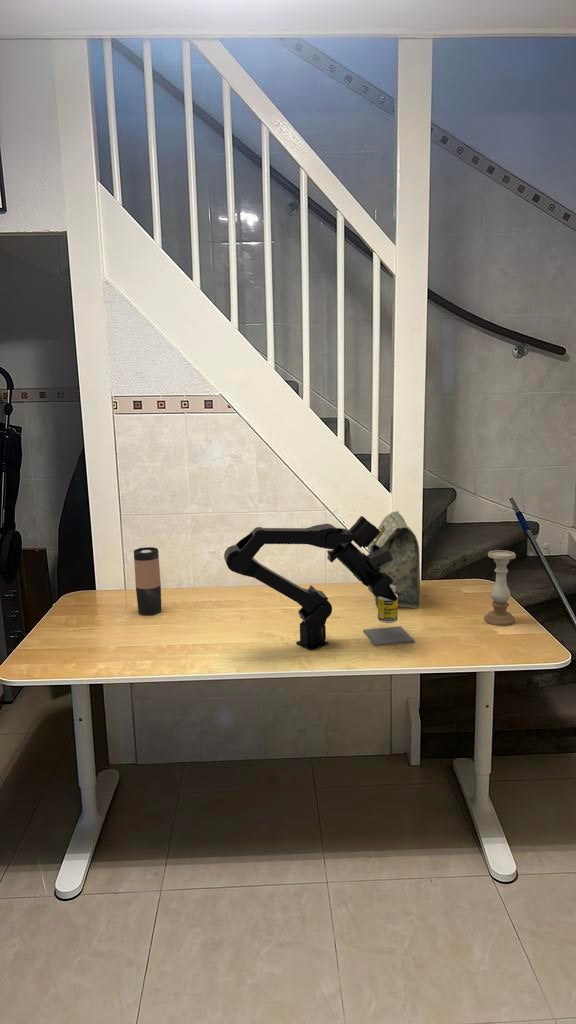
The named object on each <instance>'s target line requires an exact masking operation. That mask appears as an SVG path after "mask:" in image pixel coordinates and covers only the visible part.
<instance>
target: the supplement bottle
mask: <svg viewBox="0 0 576 1024" xmlns="http://www.w3.org/2000/svg"><path fill="white" fill-rule="evenodd" d="M390 587H391V589H392V590H393V592H394V594H395V595H396V597H397V600H396V601H392V600H389V599H386V598H383V597H380V596H379V597H378V608H377V620H378V622H380V623H384V624H394V623H396V622H397V621H398V613H399V612H398V609H399V606H398V595H397V594H396V593H395V591H396V586H395V585H390Z"/></svg>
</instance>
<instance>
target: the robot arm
mask: <svg viewBox="0 0 576 1024" xmlns="http://www.w3.org/2000/svg"><path fill="white" fill-rule="evenodd" d="M380 533H381V532H380V531H379V530H378V528H377V526H376V525H374V524H372V523H371V522H370V521H369V520H368V519H367V518H366V517H364V516H363V515H360V516H359V517H358V518H357V519H356V522H354V524H353V525H352V526H351V527H350V528H349V530H348V529H347V528H344V527H343V528H340V527H336V526H334V525H333V524H331V523H322V524H317V525H313V526H310V527H305V528H304V527H301V528H300V527H298V528H297V527H296V528H295V527H289V528H288V527H261V526H257V527H255V528H253V529H252V531H250V533H248V534H247V535H246V536H244V537H242V538H241V539H240V540H239V541H238V542H237V543H235V544H233V545H230V546H228V547H227V548H226V550H225V551H224V553H223V559H224V561H225V565H226V566H227V568H228V569H229V570H230V571H231V572H233V573H236V574H238V575H241V576H245V577H249V578H253V579H255V580H257V581H259V582H260V583H263V584H264V585H266V586H268V587H270V588H271V589H273V590H275V591H276V592H277V593H279V594H281V595H283V596H285V597H287V598H289V599H290V600H293V601H294V602H295V603H297V604H299V606H301V608H300V609H299V610H298V611H297V612H298V615H299V618H300V619H301V622H299V640H298V641H296V644H297V645H299V646H301V647H302V648H305V649H307V650H310V651H311V650H313V651H314V650H316V649H319V648H322V647H324V646H327V645H330V643H329V641H326V639H327V636H326V635H327V634H326V623H327V620H328V618H329V617H331V615H332V612H333V605H332V604H331V602H330V601H329V598H328V597H327V595H326V594H325V592H324V591H322V590H318V589H316V587H314V586H313V585H309V588H304V587H301V586H300V585H297V583H294V582H293V581H291V580H289V579H288V578H286V577H284V576H282V575H280V574H279V573H277V572H275V571H274V570H272V569H271V568H268V567H267V566H265V565H263V564H262V563H260V562H259V561H258V560H257V559H255V556H256V555H257V554H258V552H259V551H260V550H261V548H262V547H263V546H264V545H309V546H314V547H317V548H320V549H321V548H322V549H325V550H327V551H326V552H327V560H328V561H329V562H330V563H333V562H334V561H336V559H337V560H338V561H339V562H340V563H341V564H342V565H343V566H344V567H345V568H347V569H348V570H349V571H350V573H352V575H353V576H354V577H355V578H356V579H357V580H358V581H359V582H361V583H362V585H363V586H366V587H367V588H368V591H369V592H370V593H372V594H373V596H374V595H375V596H376V597H379V596H380V597H383V598H386V599H389V600H392V601H396V600H397V597H396V595H395V594H394V592H393V590H392V589H391V587H390V585H391V584H392V583H393V579H392V578H391V577H389V576H388V575H387V574H386V573H385V572H382V573H380V568H379V567H378V566H381V565H383V564H385V563H387V562H391V561H392V560H393V557H392V555H391V553H390V550H389V549H388V548H387V547H385V546H381V547H379V546H377V545H376V544H374V545H372V546H371V552H369V551H368V553H367V555H366V554H365V553H364V552H362V551H361V550H360V549H359V548H361V549H362V547H363V548H367V549H368V545H369V544H370V543H371V542H372V541H373V540H374V539H375V538H376V537H377V536H378V535H379V534H380ZM352 542H354V543H355V544H356V545H357V546H358V547H359V548H358V547H357V546H356V545H355V544H353V543H352ZM369 553H370V554H369ZM375 596H374V597H375Z"/></svg>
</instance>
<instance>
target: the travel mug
mask: <svg viewBox="0 0 576 1024" xmlns="http://www.w3.org/2000/svg"><path fill="white" fill-rule="evenodd" d="M159 556H160V555H159V548H157V547H154V546H153V547H152V546H151V547H150V546H148V547H147V546H146V547H139V548H135V549H134V550H133V561H134V562H133V563H134V577H135V578H134V580H135V592H136V600H137V601H136V603H137V610H138V614H139V615H141V616H144V617H145V616H146V617H147V616H155V615H158V614H160V613H162V585H161V584H162V583H161V570H160V569H161V568H160V558H159Z"/></svg>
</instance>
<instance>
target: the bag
mask: <svg viewBox="0 0 576 1024" xmlns="http://www.w3.org/2000/svg"><path fill="white" fill-rule="evenodd" d="M377 529H378V530H379V531H380V532H381V533H380V534H379V535H378V536H377V537H376V538H375V539H374V540H373V541H372V542H371V543H370V544H369V545H368V547H367V551H368V554H370V553H369V552H371V546H372V545H374V544H376V545H377V546H379V547H381V546H385V547H387V548H388V549H389V550H390V553H391V555H392V557H393V560H392V561H391V562H387V563H385V564H383V565H381V566H378V567H379V568H380V573H382V572H385V573H386V574H387V575H388V576H389V577H391V578H392V579H393V583H392V584H391V585H395V586H396V591H395V593H396V594H397V595H398V607H402V608H404V607H405V608H411V609H418V608H420V607H421V572H420V571H421V569H420V568H421V567H420V546H419V542H418V539H417V535H416V534H415V533H414V532H413V530H412V528H410V527H409V526H408V525H407V522H406V521H405V519H404V517H403V516H402V515H401V514H400V512H399V510H397V511H391V512H390V513H388V515H386V516H385V517H384V518H383V520H382V521H381V523H380V524H379V526H378V528H377ZM373 596H374V601H375V606H376V608H377V609H378V597H376V596H375V595H374V594H373Z"/></svg>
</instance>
